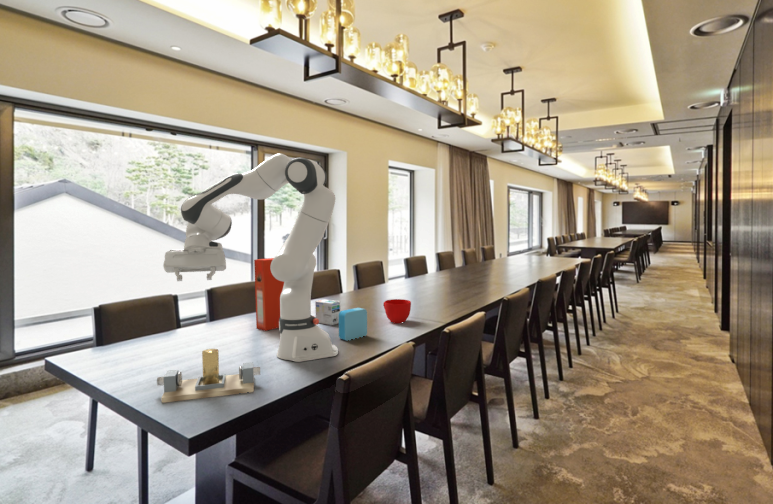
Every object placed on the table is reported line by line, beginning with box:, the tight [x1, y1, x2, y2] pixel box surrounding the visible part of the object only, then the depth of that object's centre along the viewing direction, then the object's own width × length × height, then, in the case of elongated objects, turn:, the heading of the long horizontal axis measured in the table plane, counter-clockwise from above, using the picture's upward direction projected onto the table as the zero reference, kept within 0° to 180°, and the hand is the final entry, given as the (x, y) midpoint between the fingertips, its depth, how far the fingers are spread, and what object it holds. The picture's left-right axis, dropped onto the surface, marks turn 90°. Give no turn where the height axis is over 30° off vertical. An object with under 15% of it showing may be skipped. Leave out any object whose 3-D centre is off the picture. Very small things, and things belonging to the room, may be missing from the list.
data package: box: [338, 307, 368, 342], centre depth 176 cm, size 12×4×12 cm, turn 133°
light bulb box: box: [314, 298, 341, 326], centre depth 202 cm, size 11×7×11 cm, turn 58°
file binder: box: [253, 257, 284, 332], centre depth 195 cm, size 8×17×32 cm, turn 139°
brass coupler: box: [201, 348, 220, 385], centre depth 123 cm, size 4×4×10 cm
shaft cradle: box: [156, 362, 261, 404], centre depth 123 cm, size 28×12×6 cm, turn 107°
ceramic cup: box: [383, 298, 412, 324], centre depth 205 cm, size 13×17×10 cm
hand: (194, 279), depth 144 cm, fingers open, 8 cm apart
